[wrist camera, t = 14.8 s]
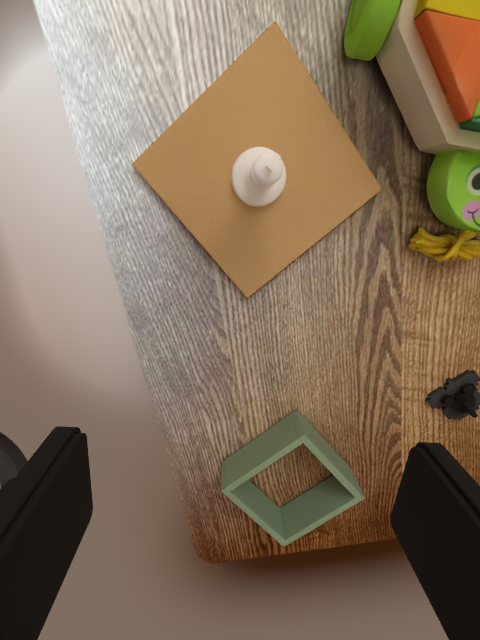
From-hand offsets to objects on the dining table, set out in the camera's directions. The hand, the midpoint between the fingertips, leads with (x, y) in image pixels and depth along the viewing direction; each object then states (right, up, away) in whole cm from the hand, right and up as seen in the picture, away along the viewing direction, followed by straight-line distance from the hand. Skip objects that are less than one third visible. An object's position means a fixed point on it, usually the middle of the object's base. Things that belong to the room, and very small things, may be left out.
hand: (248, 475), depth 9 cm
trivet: (+1, +17, +21) cm, 27 cm away
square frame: (+6, -14, +32) cm, 35 cm away
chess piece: (+1, +17, +20) cm, 27 cm away
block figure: (+25, -4, +29) cm, 38 cm away
